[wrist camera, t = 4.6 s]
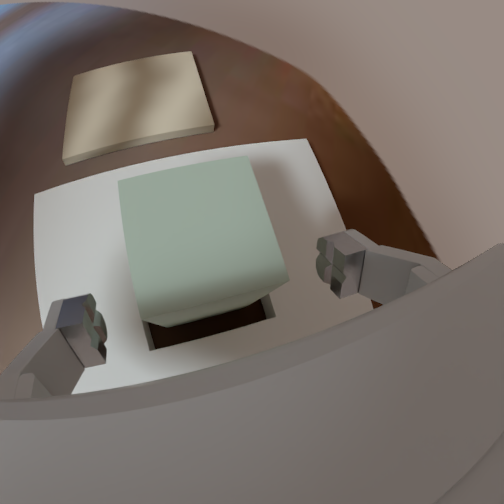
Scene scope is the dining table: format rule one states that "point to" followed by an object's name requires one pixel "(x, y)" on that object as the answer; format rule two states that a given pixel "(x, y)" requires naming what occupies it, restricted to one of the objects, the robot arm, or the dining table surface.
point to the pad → (134, 106)
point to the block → (198, 241)
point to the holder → (120, 281)
